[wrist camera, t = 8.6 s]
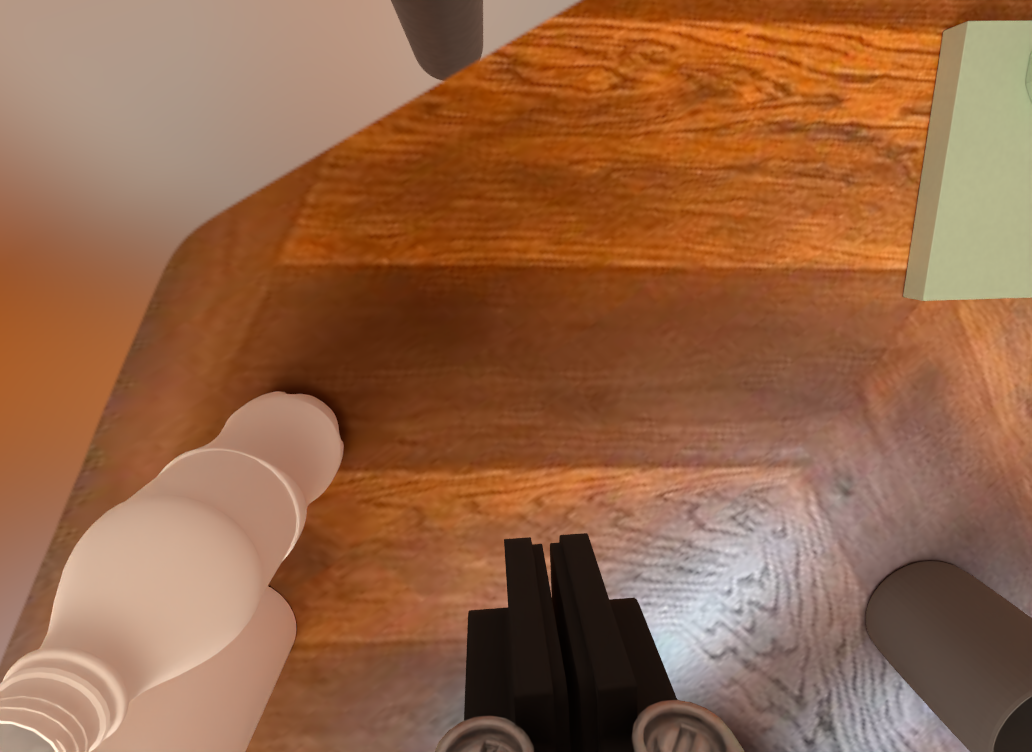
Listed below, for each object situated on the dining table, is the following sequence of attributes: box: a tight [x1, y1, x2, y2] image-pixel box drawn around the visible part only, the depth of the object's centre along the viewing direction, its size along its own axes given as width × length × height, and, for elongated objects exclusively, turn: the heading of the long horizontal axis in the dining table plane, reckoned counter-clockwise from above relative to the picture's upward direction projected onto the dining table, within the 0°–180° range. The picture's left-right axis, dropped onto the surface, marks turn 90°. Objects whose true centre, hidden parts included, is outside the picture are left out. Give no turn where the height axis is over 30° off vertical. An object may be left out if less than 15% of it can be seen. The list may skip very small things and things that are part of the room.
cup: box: [91, 586, 296, 752], centre depth 36 cm, size 8×8×16 cm
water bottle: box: [0, 391, 344, 752], centre depth 28 cm, size 7×7×25 cm
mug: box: [866, 561, 1032, 752], centre depth 41 cm, size 14×9×12 cm
